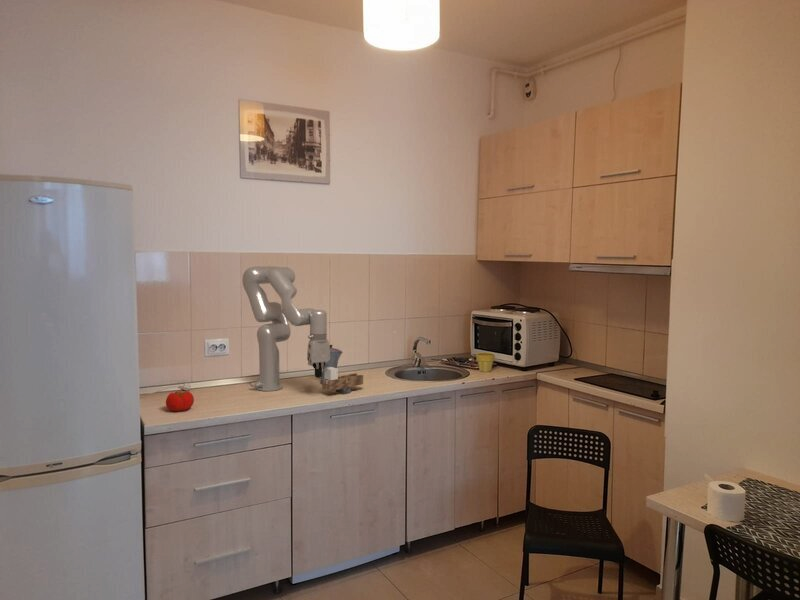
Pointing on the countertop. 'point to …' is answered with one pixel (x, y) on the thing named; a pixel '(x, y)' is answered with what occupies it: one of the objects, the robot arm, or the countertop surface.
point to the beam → (343, 383)
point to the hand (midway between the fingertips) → (318, 376)
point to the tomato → (179, 401)
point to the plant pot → (485, 361)
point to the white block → (330, 374)
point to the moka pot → (332, 359)
